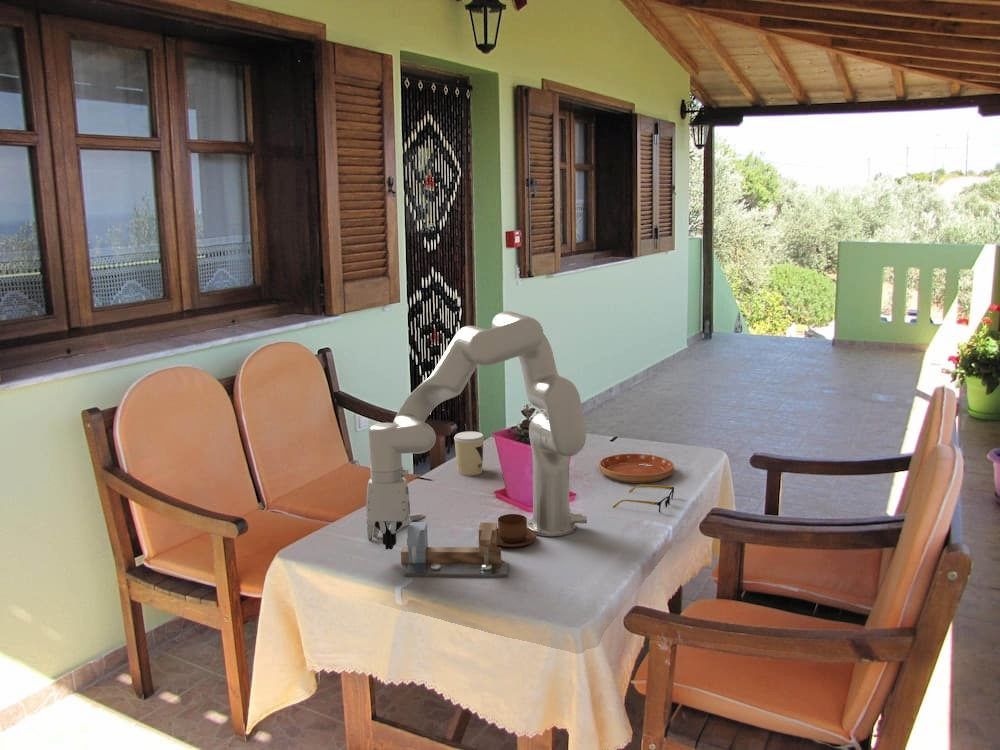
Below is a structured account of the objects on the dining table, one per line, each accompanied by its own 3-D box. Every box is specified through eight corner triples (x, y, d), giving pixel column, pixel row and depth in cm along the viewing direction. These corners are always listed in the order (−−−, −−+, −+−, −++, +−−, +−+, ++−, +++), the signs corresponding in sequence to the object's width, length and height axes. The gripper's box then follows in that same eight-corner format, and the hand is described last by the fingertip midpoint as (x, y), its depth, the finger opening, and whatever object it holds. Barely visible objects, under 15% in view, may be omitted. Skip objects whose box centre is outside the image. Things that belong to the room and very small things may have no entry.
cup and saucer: (480, 539, 238) (480, 516, 237) (520, 529, 244) (520, 507, 243) (503, 554, 228) (503, 531, 227) (545, 544, 234) (545, 521, 233)
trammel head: (428, 555, 227) (426, 522, 225) (421, 574, 216) (420, 539, 214) (412, 555, 227) (410, 522, 225) (404, 574, 217) (403, 539, 215)
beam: (501, 557, 226) (500, 522, 224) (498, 576, 215) (498, 539, 213) (403, 556, 227) (402, 522, 226) (396, 575, 217) (394, 539, 215)
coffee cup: (484, 476, 288) (483, 439, 286) (454, 476, 288) (453, 439, 286) (485, 467, 297) (484, 430, 295) (455, 467, 297) (454, 431, 295)
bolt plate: (508, 566, 220) (508, 560, 220) (507, 577, 215) (507, 570, 214) (408, 566, 222) (408, 559, 222) (404, 576, 216) (404, 570, 216)
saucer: (600, 462, 300) (600, 451, 299) (672, 464, 297) (672, 453, 296) (597, 485, 278) (597, 473, 277) (675, 487, 275) (675, 475, 274)
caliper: (370, 541, 239) (369, 517, 237) (367, 540, 239) (366, 516, 238) (425, 517, 255) (424, 495, 253) (422, 516, 255) (421, 494, 254)
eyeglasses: (662, 516, 253) (662, 502, 252) (612, 508, 259) (612, 495, 258) (676, 499, 265) (677, 486, 264) (628, 493, 271) (628, 480, 271)
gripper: (420, 470, 224) (422, 541, 228) (358, 470, 225) (362, 541, 229) (415, 480, 217) (418, 553, 220) (352, 479, 218) (356, 553, 221)
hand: (389, 547), depth 224 cm, fingers closed
